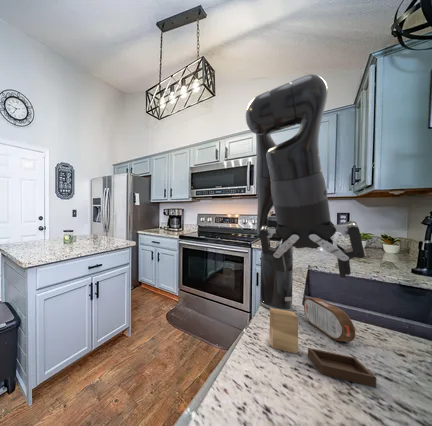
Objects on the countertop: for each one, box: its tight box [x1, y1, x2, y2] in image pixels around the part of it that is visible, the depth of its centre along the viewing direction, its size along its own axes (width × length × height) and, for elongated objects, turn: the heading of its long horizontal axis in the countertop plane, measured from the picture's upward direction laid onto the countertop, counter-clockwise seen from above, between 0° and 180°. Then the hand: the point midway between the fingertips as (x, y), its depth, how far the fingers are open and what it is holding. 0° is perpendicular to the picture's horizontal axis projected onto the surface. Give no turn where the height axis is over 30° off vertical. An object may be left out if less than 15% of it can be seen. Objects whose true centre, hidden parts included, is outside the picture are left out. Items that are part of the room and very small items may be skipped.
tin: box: [303, 297, 356, 343], centre depth 60 cm, size 15×3×8 cm, turn 168°
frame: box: [307, 347, 377, 388], centre depth 45 cm, size 6×8×2 cm
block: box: [268, 308, 299, 354], centre depth 53 cm, size 3×5×9 cm, turn 67°
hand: (310, 272), depth 42 cm, fingers open, 8 cm apart
